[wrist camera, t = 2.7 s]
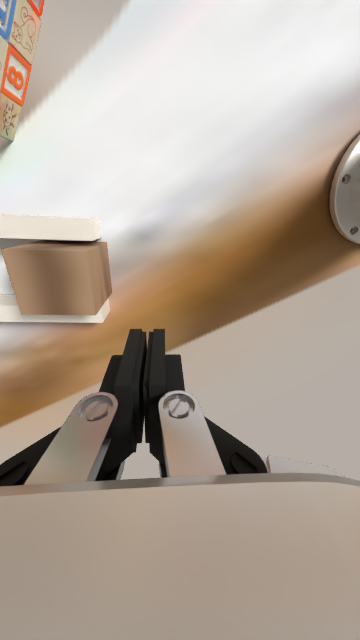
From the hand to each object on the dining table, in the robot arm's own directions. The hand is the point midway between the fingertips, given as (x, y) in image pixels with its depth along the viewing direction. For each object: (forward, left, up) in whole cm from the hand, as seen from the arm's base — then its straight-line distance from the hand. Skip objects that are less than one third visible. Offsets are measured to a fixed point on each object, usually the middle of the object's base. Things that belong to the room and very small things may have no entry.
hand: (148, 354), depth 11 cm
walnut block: (+10, 0, -18) cm, 20 cm away
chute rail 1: (+14, -5, -18) cm, 23 cm away
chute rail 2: (+14, +4, -18) cm, 23 cm away
